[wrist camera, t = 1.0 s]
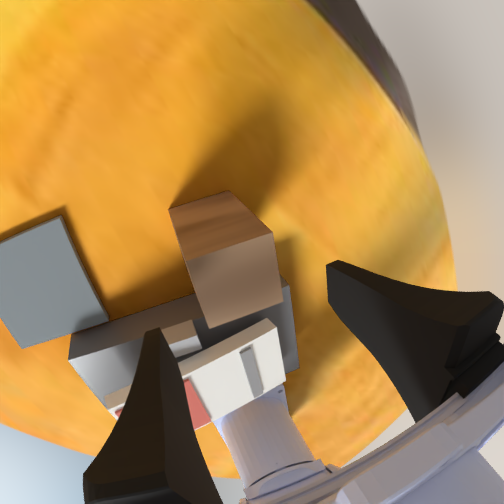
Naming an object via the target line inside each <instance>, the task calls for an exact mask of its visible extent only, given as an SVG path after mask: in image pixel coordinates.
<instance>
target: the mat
mask: <svg viewBox="0 0 504 504" xmlns="http://www.w3.org/2000/svg"><path fill="white" fill-rule="evenodd" d="M0 318H1V319H2V321H3V322H4V324H5V326H6V327H7V328H8V330H9V331H10V333H11V334H12V336H13V337H14V339H15V340H16V341H17V343H18V344H19V346H20V347H21V348H22V349H24V348H27V347H30V346H33V345H36V344H40V343H43V342H46V341H49V340H52V339H55V338H58V337H62V336H65V335H68V334H71V333H74V332H77V331H80V330H83V329H86V328H89V327H92V326H95V325H99V324H102V323H105V322H108V321H109V315H108V314H107V312H106V310H105V308H104V306H103V304H102V302H101V300H100V298H99V296H98V294H97V293H96V291H95V289H94V287H93V285H92V282H91V280H90V278H89V276H88V274H87V272H86V270H85V268H84V266H83V264H82V261H81V259H80V257H79V255H78V253H77V250H76V248H75V246H74V244H73V241H72V239H71V237H70V234H69V232H68V230H67V227H66V225H65V222H64V220H63V217H62V215H60V216H57V217H55V218H53V219H50V220H48V221H45V222H43V223H41V224H38V225H36V226H34V227H31V228H29V229H27V230H25V231H22V232H20V233H18V234H16V235H13V236H11V237H9V238H7V239H5V240H3V241H1V242H0Z"/></svg>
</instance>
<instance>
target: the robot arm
mask: <svg viewBox="0 0 504 504" xmlns="http://www.w3.org/2000/svg"><path fill="white" fill-rule="evenodd" d="M326 273H327V290H328V302H329V304H330V305H331V307H332V308H333V310H334V311H335V313H336V314H337V315H338V317H339V318H340V320H341V321H342V322H343V323H344V324H345V325H346V326H347V327H348V328H349V329H350V331H351V332H352V333H353V334H354V335H355V336H356V337H357V338H358V339H359V340H360V341H361V342H362V343H363V345H364V346H365V347H366V348H367V349H368V350H369V351H370V352H371V353H372V355H373V356H374V357H375V358H376V360H377V361H378V362H379V364H380V365H381V367H382V368H383V369H384V371H385V372H386V374H387V375H388V377H389V378H390V380H391V381H392V383H393V384H394V386H395V387H396V389H397V390H398V392H399V394H400V395H401V397H402V399H403V400H404V402H405V404H406V406H407V407H408V409H409V411H410V413H411V415H412V417H413V419H414V421H415V423H416V424H414V425H413V426H411V427H410V428H408V429H407V430H405V431H404V432H402V433H401V434H399V435H398V436H396V437H395V438H393V439H392V440H390V441H388V442H387V443H385V444H384V445H382V446H380V447H379V448H377V449H375V450H374V451H372V452H370V453H369V454H367V455H365V456H363V457H362V458H360V459H358V460H356V461H354V462H353V463H351V464H349V465H347V466H345V467H343V468H340V467H338V466H334V465H332V464H328V465H326V466H324V464H323V463H322V461H321V459H318V460H315V458H314V456H313V455H312V453H311V451H310V449H309V448H308V446H307V444H306V443H305V441H304V439H303V437H302V436H301V434H300V432H299V430H298V429H297V427H296V425H295V423H294V422H293V420H292V418H291V416H290V415H289V411H288V405H287V400H286V394H285V389H284V385H283V384H282V383H281V384H280V385H278V386H276V387H275V388H273V389H271V390H270V391H268V392H266V393H264V394H263V395H261V396H259V397H257V398H256V399H254V400H252V401H250V402H248V403H247V404H245V405H243V406H241V407H239V408H237V409H236V410H234V411H232V412H230V413H229V414H226V415H224V416H222V417H220V418H219V419H217V420H215V421H213V423H214V425H215V426H216V428H217V430H218V431H219V433H220V435H221V436H222V438H223V440H224V441H225V443H226V445H227V446H228V448H229V450H230V453H231V456H232V458H233V461H234V463H235V465H236V468H237V470H238V473H239V475H240V478H241V480H242V482H243V485H244V487H245V489H244V492H245V494H246V497H247V499H248V500H247V499H246V498H243V499H240V503H239V504H504V481H503V479H502V478H501V477H500V476H499V475H498V474H497V472H496V471H495V470H494V469H493V468H492V467H491V466H490V465H489V463H488V462H487V461H486V460H485V459H484V457H483V456H482V455H481V454H480V453H479V452H478V451H479V450H480V449H481V448H482V447H483V446H484V445H485V444H486V443H487V442H488V441H489V440H490V439H491V438H492V437H493V435H494V434H496V432H497V431H498V430H499V429H500V428H501V427H502V426H503V425H504V344H502V343H500V342H499V340H500V336H499V335H498V334H497V333H496V330H497V327H498V325H499V322H500V320H501V317H502V314H503V311H504V303H503V301H502V300H500V299H499V298H498V297H496V296H495V295H494V294H492V293H491V292H489V291H484V292H457V291H445V290H437V289H430V288H425V287H420V286H415V285H411V284H407V283H403V282H400V281H397V280H393V279H390V278H387V277H384V276H381V275H378V274H375V273H373V272H370V271H367V270H365V269H362V268H359V267H357V266H354V265H351V264H349V263H346V262H343V261H340V260H337V261H334V262H332V263H329V264H327V265H326ZM83 492H84V501H85V504H223V502H222V500H221V498H220V496H219V493H218V491H217V489H216V487H215V484H214V482H213V480H212V477H211V475H210V473H209V470H208V468H207V465H206V463H205V460H204V457H203V455H202V452H201V449H200V447H199V444H198V441H197V438H196V435H195V432H194V428H193V424H192V419H191V415H190V410H189V405H188V400H187V396H186V391H185V386H184V381H183V378H182V375H181V372H180V369H179V366H178V362H177V360H176V358H175V356H174V354H173V352H172V350H171V349H170V347H169V345H168V343H167V341H166V339H165V337H164V335H163V333H162V331H161V329H160V327H158V328H155V329H152V330H149V331H146V332H145V334H144V337H143V342H142V347H141V352H140V356H139V360H138V364H137V368H136V372H135V375H134V378H133V382H132V385H131V388H130V391H129V394H128V397H127V399H126V402H125V404H124V407H123V409H122V412H121V414H120V416H119V418H118V420H117V422H116V424H115V426H114V428H113V430H112V432H111V434H110V436H109V437H108V439H107V441H106V442H105V444H104V446H103V447H102V449H101V451H100V452H99V453H98V455H97V456H96V458H95V459H94V460H93V462H92V463H91V464H90V466H89V467H88V468H87V470H86V471H85V472H84V473H83Z"/></svg>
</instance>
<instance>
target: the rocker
mask: <svg viewBox="0 0 504 504" xmlns="http://www.w3.org/2000/svg"><path fill="white" fill-rule="evenodd" d="M178 366H179V369H180V372H181V375H182V378H183V381H184V386H185V391H186V396H187V400H188V405H189V410H190V415H191V419H192V424H193V428H194V430H196V429H199V428H201V427H203V426H205V425H207V424H209V423H211V422H213V421H215V420H217V419H219V418H220V417H222V416H224V415H226V414H228V413H230V412H232V411H234V410H236V409H237V408H239V407H241V406H243V405H245V404H247V403H248V402H250V401H252V400H254V399H256V398H257V397H259V396H261V395H263V394H264V393H266V392H268V391H270V390H271V389H273V388H275V387H276V386H278V385H280V384H281V383H283V382H285V381H286V378H285V372H284V366H283V360H282V354H281V349H280V343H279V337H278V332H277V327H276V326H275V325H274V324H273V323H272V322H271V321H270V320H269V319H268V318H265V319H264V320H262V321H260V322H258V323H256V324H254V325H252V326H250V327H249V328H247V329H245V330H243V331H241V332H239V333H237V334H235V335H233V336H231V337H229V338H227V339H225V340H223V341H221V342H219V343H217V344H215V345H213V346H211V347H209V348H207V349H205V350H203V351H201V352H199V353H197V354H195V355H193V356H191V357H189V358H187V359H185V360H183V361H181V362H179V363H178ZM131 385H132V384H131ZM131 385H129V386H127V387H124V388H122V389H120V390H118V391H115V392H113V393H111V394H108V395H106V396H104V398H105V402H106V405H107V409H108V411H109V412H110V413H111V414H112V415H113V416H114V418H115V419H116V420H118V418H119V416H120V414H121V412H122V409H123V407H124V404H125V402H126V399H127V397H128V394H129V391H130V388H131Z"/></svg>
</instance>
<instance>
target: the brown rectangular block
mask: <svg viewBox="0 0 504 504" xmlns="http://www.w3.org/2000/svg"><path fill="white" fill-rule="evenodd" d="M168 211H169V214H170V217H171V220H172V224H173V227H174V230H175V233H176V237H177V240H178V243H179V246H180V249H181V252H182V255H183V258H184V261H185V264H186V267H187V270H188V273H189V276H190V279H191V281H192V284H193V287H194V290H195V292H196V295H197V298H198V300H199V303H200V306H201V308H202V311H203V314H204V316H205V319H206V322H207V324H208V327H209V329H210V328H213V327H216V326H219V325H222V324H224V323H227V322H230V321H233V320H235V319H238V318H241V317H244V316H246V315H249V314H252V313H254V312H257V311H260V310H262V309H265V308H268V307H270V306H273V305H275V304H278V303H281V302H283V294H282V288H281V281H280V275H279V269H278V262H277V256H276V250H275V243H274V237H273V232H272V231H271V230H270V229H269V228H268V227H267V226H266V225H265V224H264V223H263V222H262V221H261V220H259V219H258V218H257V217H256V216H255V215H254V214H253V213H252V212H251V211H250V210H249V209H248V208H247V207H246V206H245V205H244V204H243V203H242V202H241V201H240V200H239V199H237V198H236V197H235V196H234V195H233V194H232V193H231V192H230V191H226V192H222V193H219V194H216V195H212V196H209V197H206V198H202V199H199V200H196V201H193V202H190V203H186V204H183V205H180V206H177V207H174V208H171V209H168Z"/></svg>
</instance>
